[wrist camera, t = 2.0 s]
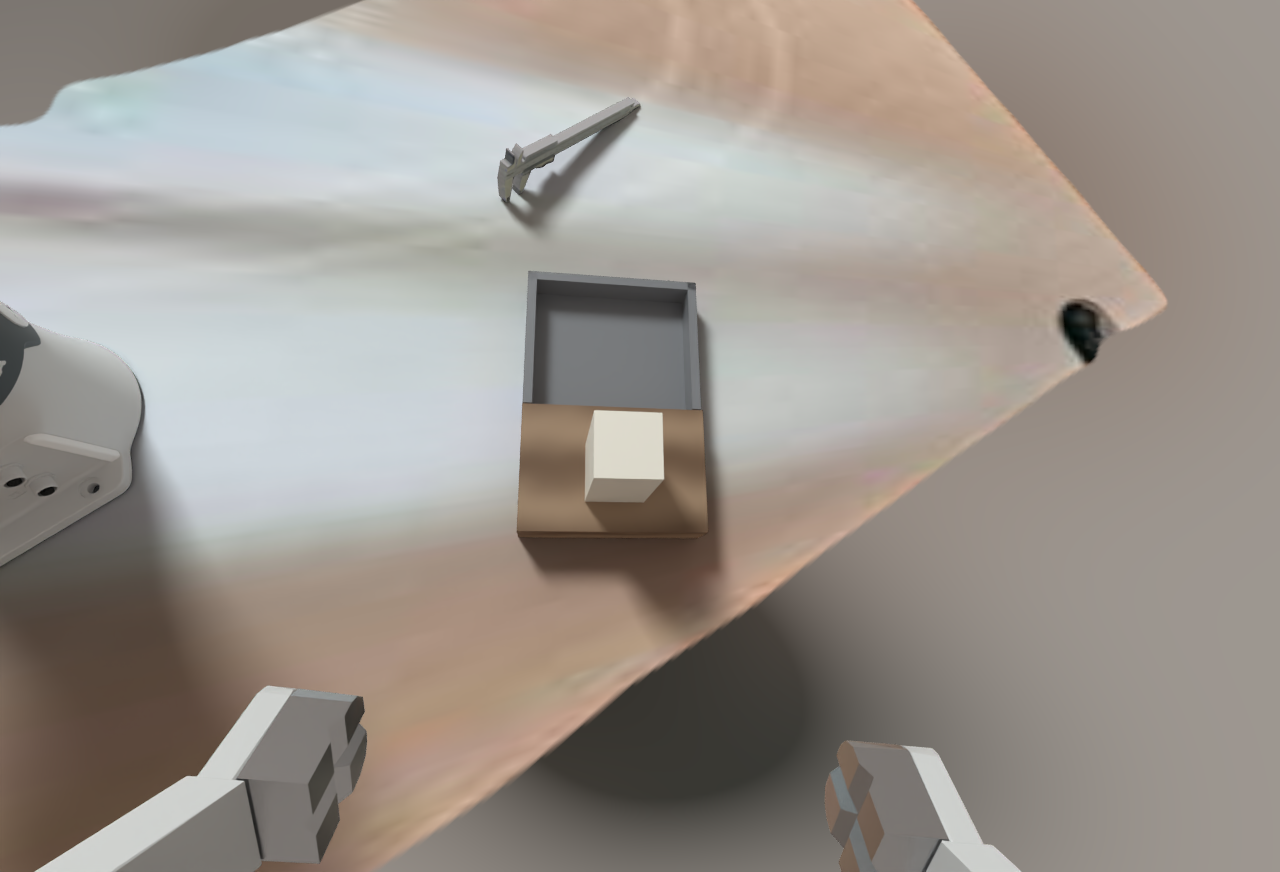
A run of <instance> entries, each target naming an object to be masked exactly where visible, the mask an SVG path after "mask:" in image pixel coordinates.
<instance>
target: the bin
mask: <svg viewBox="0 0 1280 872" xmlns="http://www.w3.org/2000/svg"><path fill="white" fill-rule="evenodd" d="M523 403H529V404H555V405H580V406H605V407H631V408H656V409H681V410H701V396H700V373H699V351H698V328H697V306H696V283H690V282H676V281H662V280H648V279H634V278H620V277H607V276H593V275H579V274H565V273H551V272H537V271H528V293H527V316H526V338H525V361H524V383H523Z"/></svg>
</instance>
